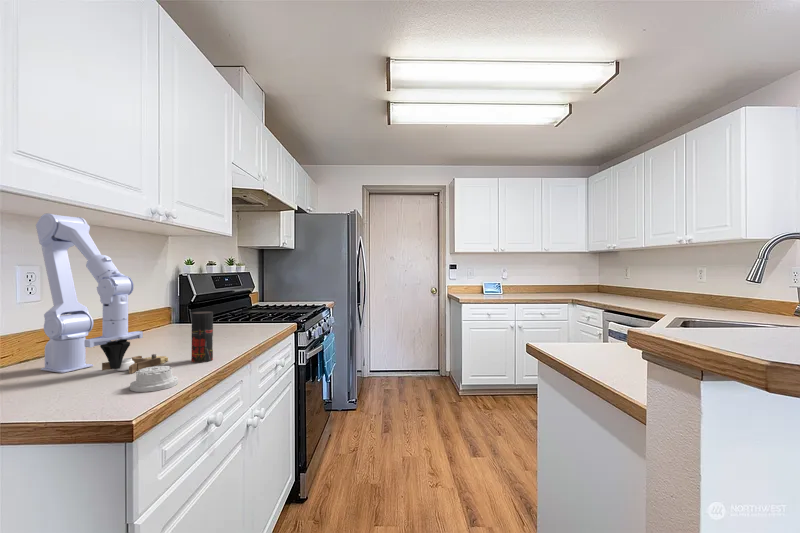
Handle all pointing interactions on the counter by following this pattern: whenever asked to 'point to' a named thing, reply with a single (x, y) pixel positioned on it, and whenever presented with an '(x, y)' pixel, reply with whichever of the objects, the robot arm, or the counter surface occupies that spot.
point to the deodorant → (202, 337)
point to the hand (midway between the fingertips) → (115, 368)
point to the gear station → (141, 363)
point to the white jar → (125, 364)
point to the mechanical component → (153, 379)
